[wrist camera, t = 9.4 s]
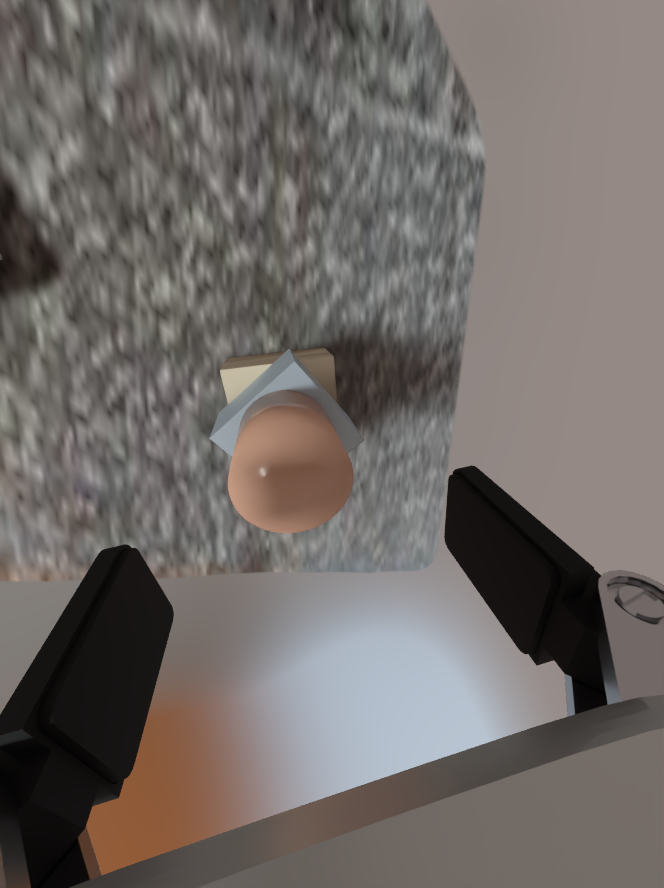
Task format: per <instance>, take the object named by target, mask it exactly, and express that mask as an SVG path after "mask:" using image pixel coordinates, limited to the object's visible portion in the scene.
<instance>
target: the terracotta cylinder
mask: <svg viewBox="0 0 664 888" xmlns="http://www.w3.org/2000/svg"><path fill="white" fill-rule="evenodd" d="M352 485H353V468H352V464H351V461H350V459H349V456H348V454H347V452H346V450H345V448H344V446H343V444H342V442H341V440H340V438H339V437H338V435H337V433H336V431H335V429H334V427H333V425H332V423H331V421H330V419H329V417H328V415H327V413H326V411H325V410H324V408H323V407H322V406H321V405H320V404H319V403H318V402H317V401H316V400H315V399H313V398H312V397H310V396H308V395H306V394H304V393H301V392H297V391H291V390H280V391H274V392H271V393H268V394H266V395H263V396H261V397H260V398H258V399H257V400H255V401H254V402H253V403H252V404H251V405H250V406H249V407H248V408H247V410H246V411H245V413H244V414H243V416H242V419H241V422H240V425H239V430H238V434H237V439H236V444H235V448H234V453H233V457H232V462H231V466H230V471H229V476H228V490H229V495H230V498H231V501H232V503H233V505H234V506H235V508H236V509H237V511H238V512H239V513H240V514H241V515H242V516H243V517H244V518H245V519H246V520H247V521H249V522H250V523H252V524H253V525H255V526H257V527H259V528H262V529H265V530H268V531H272V532H278V533H296V532H302V531H306V530H309V529H313V528H315V527H317V526H320V525H321V524H323V523H325V522H327V521H328V520H329V519H331V518H332V517H333V516H334V515H336V514H337V513H338V512H339V510H340V509H341V508H342V507H343V505H344V504H345V503H346V501H347V499H348V497H349V495H350V492H351V489H352Z"/></svg>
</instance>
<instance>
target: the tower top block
mask: <svg viewBox="0 0 664 888" xmlns="http://www.w3.org/2000/svg"><path fill="white" fill-rule="evenodd" d="M280 390H291V391H297V392H301V393H304V394H306V395H308V396H310V397H312V398H313V399H315V400H316V401H317V402H318V403H319V404H320V405H321V406H322V407H323V408H324V410H325V411H326V413H327V415H328V417H329V419H330V421H331V423H332V425H333V427H334V429H335V431H336V433H337V435H338V437H339V438H340V440H341V442H342V444H343V446H344V448H345V450H346V452H347V454H348V453H349V452H350V451H351V450H353V449H354V448H355V447H356V446H358V445H359V444H360V443H361V442H362V441H364V439H363V437H362V436H361V434H360V433H359V431H358V430H357V428H356V427H355V425H354V424H353V422H352V421H351V419H350V418H349V416H348V415H347V414H346V413H345V412H344V411H343V409H342V408H341V407H340V406H339V405H338V404H337V403H336V401H335V400H334V399H333V398H332V397H331V396H330V395H329V393H328V392H327V391H326V390H325V389H324V388H323V386H322V385H321V384H320V383H319V382H318V381H317V380H316V378H315V377H314V376H313V375H312V374H311V373H310V372H309V370H308V369H307V368H306V367H305V366H304V365H303V364H302V362H301V361H300V360H299V359H298V358H297V357H296V356H295V354H294V353H293V352H292V351H291V350H290V349H288V350H287V351H286V352H285V353H284V354H283V355H282V356H280V357H279V358H278V359H277V360H276V361H275V362H274V363H273V364H272V365H271V366H270V367H269V368H267V369H266V370H265V371H264V372H263V373H262V374H261V375H260V376H259V377H258V378H257V379H255V380H254V381H253V382H252V383H251V384H250V385H249V386H248V387H247V388H246V389H245V390H243V391H242V392H241V393H240V394H239V395H238V396H237V397H236V398H235V399H234V400H233V401H231V402H230V403H229V404H228V405H227V406H226V407H225V408H224V409H223V410H222V411H221V412H220V413H219V415H218V418H217V420H216V423H215V425H214V428H213V431H212V433H211V436H210V439H211V440H212V441H213V442H215V443H216V444H217V445H218V446H219V447H221V448H222V449H223V450H224V451H226V452H227V453H228V454H229V455H231V456H232V457H233V453H234V448H235V444H236V439H237V434H238V430H239V425H240V422H241V419H242V416H243V414H244V413H245V411H246V410H247V408H248V407H249V406H250V405H251V404H252V403H253V402H254V401H255V400H257V399H258V398H260V397H261V396H263V395H266V394H268V393H271V392H274V391H280Z"/></svg>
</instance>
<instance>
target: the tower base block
mask: <svg viewBox="0 0 664 888" xmlns="http://www.w3.org/2000/svg"><path fill="white" fill-rule="evenodd" d="M292 352H293V353H294V354H295V356H296V357H297V358H298V359H299V360H300V361H301V362H302V364H303V365H304V366H305V367H306V368H307V369H308V370H309V372H310V373H311V374H312V375H313V376H314V377H315V378H316V380H317V381H318V382H319V383H320V384H321V385H322V386H323V388H324V389H325V390H326V391H327V392H328V393H329V395H330V396H331V397H332V398H333V399H334V400H335V401H336V403H337V394H336V381H335V368H334V356H333V355H332V354H331V353H329V352H328V351H327V350H326V349H325V348H324V347H321V348H313V349H304V350H295V351H292ZM284 353H285V352H278V353H269V354H261V355H252V356H244V357H235V358H227V359H226V361H225V362H224V364H223V366H222V367H221V369H220V373H221V377H222V381H223V385H224V389H225V393H226V397H227V401H228V404H229V403H230V402H231V401H233V400H234V399H235V398H236V397H237V396H238V395H239V394H240V393H241V392H242V391H243V390H245V389H246V388H247V387H248V386H249V385H250V384H251V383H252V382H253V381H254V380H255V379H257V378H258V377H259V376H260V375H261V374H262V373H263V372H264V371H265V370H266V369H267V368H269V367H270V366H271V365H272V364H273V363H274V362H275V361H276V360H277V359H278V358H279V357H280V356H282V355H283V354H284Z"/></svg>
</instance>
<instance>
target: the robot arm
mask: <svg viewBox="0 0 664 888" xmlns="http://www.w3.org/2000/svg"><path fill="white" fill-rule="evenodd" d="M444 537H445V543H446V545H447V547H448V549H449V551H450V552H451V553H452V555H453V556H454V558H455V559H456V561H457V562H458V563H459V565H460V566H461V568H462V569H463V571H464V572H465V573H466V575H467V576H468V578H469V579H470V580H471V582H472V583H473V585H474V586H475V588H476V589H477V591H478V592H479V593H480V595H481V596H482V597H483V599H484V600H485V602H486V603H487V605H488V606H489V608H490V609H491V610H492V612H493V613H494V615H495V616H496V617H497V619H498V620H499V622H500V623H501V624H502V626H503V627H504V629H505V630H506V632H507V633H508V634H509V636H510V637H511V639H512V640H513V642H514V643H515V644H516V646H517V647H518V649H519V650H520V651H521V652H522V653H524V654H529V656H530V657H531V658H532V660H533V661H534V663H535V664H536V665H540V664H543V663H546V662H550V661H553V660H554V661H555V662H556V663H557V664H558V666H559V667H560V668H561V669H562V671H563V672H564V674H565V687H566V700H567V712H568V717H566V718H563V719H559V720H556V721H553V722H549V723H546V724H543V725H540V726H536V727H533V728H530V729H527V730H525V731H521V732H518V733H515V734H513V735H509V736H506V737H503V738H501V739H498V740H495V741H492V742H489V743H486V744H483V745H480V746H477V747H474V748H471V749H468V750H465V751H462V752H459V753H456V754H453V755H450V756H447V757H444V758H441V759H438V760H435V761H432V762H429V763H426V764H423V765H420V766H417V767H414V768H411V769H408V770H405V771H402V772H400V773H397V774H394V775H391V776H388V777H385V778H382V779H379V780H376V781H373V782H370V783H367V784H364V785H361V786H358V787H355V788H352V789H350V790H347V791H344V792H341V793H338V794H335V795H332V796H329V797H326V798H323V799H320V800H317V801H315V802H312V803H309V804H306V805H303V806H300V807H297V808H294V809H291V810H288V811H285V812H283V813H280V814H277V815H274V816H271V817H268V818H265V819H262V820H259V821H256V822H253V823H251V824H248V825H245V826H242V827H239V828H236V829H233V830H230V831H227V832H224V833H222V834H219V835H216V836H213V837H210V838H207V839H204V840H201V841H199V842H196V843H193V844H190V845H187V846H184V847H182V848H178V849H175V850H173V851H170V852H167V853H164V854H161V855H158V856H155V857H153V858H150V859H147V860H144V861H141V862H138V863H135V864H132V865H130V866H127V867H124V868H121V869H118V870H116V871H113V872H110V873H108V874H105V875H101V871H100V868H99V865H98V862H97V859H96V855H95V853H94V849H93V846H92V843H91V840H90V837H89V833H88V830H87V828H86V824H87V821H88V818H89V814H90V812H91V808H92V806H95V805H98V804H101V803H104V802H107V801H110V800H113V799H117V798H119V796H120V792H121V789H122V785H123V781H124V779H126V778H127V777H128V776H129V775H130V773H131V771H132V769H133V766H134V763H135V759H136V756H137V752H138V749H139V745H140V741H141V737H142V734H143V730H144V726H145V722H146V719H147V715H148V711H149V707H150V704H151V700H152V696H153V692H154V689H155V685H156V681H157V678H158V674H159V670H160V667H161V663H162V659H163V655H164V652H165V648H166V644H167V640H168V637H169V633H170V629H171V625H172V622H173V616H174V613H173V608H172V605H171V604H170V602H169V601H168V599H167V597H166V595H165V594H164V592H163V590H162V589H161V587H160V585H159V584H158V582H157V581H156V579H155V577H154V575H153V574H152V572H151V571H150V569H149V567H148V566H147V564H146V562H145V561H144V559H143V557H142V556H141V554H140V552H139V551H138V550H137V549H136V548H131V547H130V546H129V545H121V546H116V547H112V548H108V549H104V550H102V551H101V552H100V553H99V554H98V556H97V557H96V559H95V561H94V562H93V564H92V566H91V567H90V569H89V570H88V572H87V574H86V575H85V577H84V579H83V580H82V582H81V584H80V585H79V587H78V588H77V590H76V592H75V594H74V595H73V597H72V598H71V600H70V602H69V603H68V605H67V606H66V608H65V610H64V611H63V613H62V615H61V616H60V618H59V620H58V621H57V623H56V625H55V626H54V628H53V629H52V631H51V633H50V635H49V636H48V638H47V639H46V641H45V643H44V644H43V646H42V647H41V649H40V651H39V652H38V654H37V656H36V657H35V659H34V660H33V662H32V664H31V665H30V667H29V669H28V670H27V672H26V674H25V675H24V677H23V678H22V680H21V682H20V683H19V685H18V687H17V688H16V690H15V692H14V693H13V695H12V696H11V698H10V700H9V701H8V703H7V705H6V706H5V708H4V709H3V711H2V713H1V715H0V888H664V585H663V584H661V583H659V582H657V581H655V580H653V579H651V578H648V577H646V576H643V575H640V574H637V573H634V572H629V571H623V570H617V571H609V572H607V573H604V574H603V575H602V576H601V575H600V574H599V573H598V572H596V571H595V570H594V567H593V566H592V565H590V564H589V563H588V562H587V561H585V559H583V558H582V557H581V556H580V555H579V554H578V553H576V552H575V551H574V550H573V549H572V548H570V547H569V546H568V545H567V544H566V543H565V542H563V541H562V540H561V539H560V538H559V537H558V536H556V535H555V534H554V533H553V532H552V531H551V530H549V529H548V528H547V527H546V526H545V525H543V524H542V523H541V522H540V521H539V520H537V519H536V518H535V517H534V516H533V515H532V514H531V513H529V512H528V511H527V510H526V509H525V508H524V507H522V506H521V505H520V504H519V503H518V502H517V501H515V500H514V499H513V498H512V497H511V496H509V495H508V494H507V493H506V492H505V491H504V490H503V489H501V488H500V487H499V486H498V485H497V484H495V483H494V482H493V481H492V480H491V479H490V478H488V477H487V476H486V475H485V474H484V473H483V472H481V471H480V470H479V469H478V468H477V467H475V466H468V467H464V468H459V469H456V470H454V472H453V475H450V476H449V479H448V493H447V507H446V522H445V536H444Z"/></svg>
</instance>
